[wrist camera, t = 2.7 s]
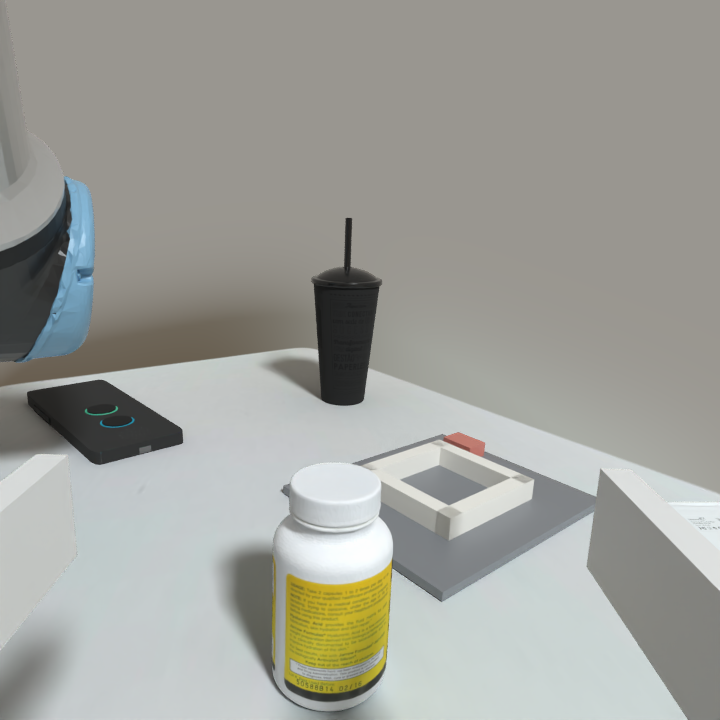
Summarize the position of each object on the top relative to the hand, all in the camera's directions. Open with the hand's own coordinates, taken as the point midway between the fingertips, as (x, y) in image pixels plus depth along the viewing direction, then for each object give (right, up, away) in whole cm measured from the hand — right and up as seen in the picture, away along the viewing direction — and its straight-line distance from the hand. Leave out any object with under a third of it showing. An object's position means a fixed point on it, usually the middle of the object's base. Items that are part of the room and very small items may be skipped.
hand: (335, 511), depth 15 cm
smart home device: (-25, -3, +43) cm, 50 cm away
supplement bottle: (-1, -11, +13) cm, 18 cm away
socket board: (+7, -7, +30) cm, 32 cm away
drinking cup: (-1, -1, +53) cm, 53 cm away
